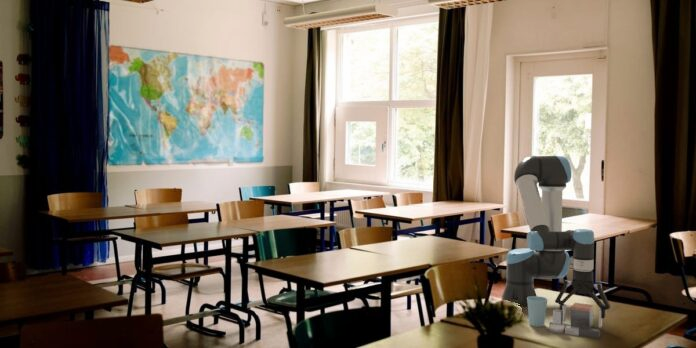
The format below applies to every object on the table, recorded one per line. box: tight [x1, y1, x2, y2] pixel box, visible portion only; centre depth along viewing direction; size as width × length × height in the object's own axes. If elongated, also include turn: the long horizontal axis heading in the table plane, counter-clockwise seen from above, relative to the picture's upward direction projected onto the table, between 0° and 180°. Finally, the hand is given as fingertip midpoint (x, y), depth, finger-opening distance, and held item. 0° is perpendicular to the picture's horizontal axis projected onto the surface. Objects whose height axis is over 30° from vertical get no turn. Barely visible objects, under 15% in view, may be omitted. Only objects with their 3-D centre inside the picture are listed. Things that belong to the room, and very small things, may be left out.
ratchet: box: [548, 308, 601, 340], centre depth 253 cm, size 18×6×8 cm, turn 59°
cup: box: [527, 295, 548, 328], centre depth 265 cm, size 8×8×10 cm
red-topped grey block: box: [570, 302, 594, 329], centre depth 263 cm, size 7×7×8 cm
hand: (581, 323), depth 263 cm, fingers open, 13 cm apart
